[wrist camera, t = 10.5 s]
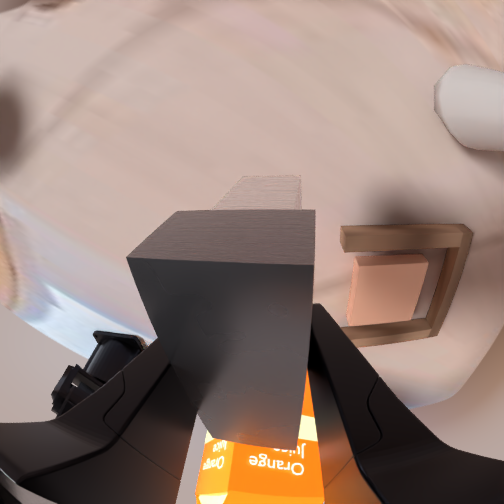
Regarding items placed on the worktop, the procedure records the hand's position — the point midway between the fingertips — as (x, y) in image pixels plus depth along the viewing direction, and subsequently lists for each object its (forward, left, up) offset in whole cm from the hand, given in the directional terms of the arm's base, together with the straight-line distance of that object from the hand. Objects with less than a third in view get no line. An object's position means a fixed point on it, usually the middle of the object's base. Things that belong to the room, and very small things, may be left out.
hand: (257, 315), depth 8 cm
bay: (+10, -8, -11) cm, 17 cm away
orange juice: (-1, -20, -11) cm, 23 cm away
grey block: (0, 0, -3) cm, 3 cm away
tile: (+9, -8, -12) cm, 17 cm away
